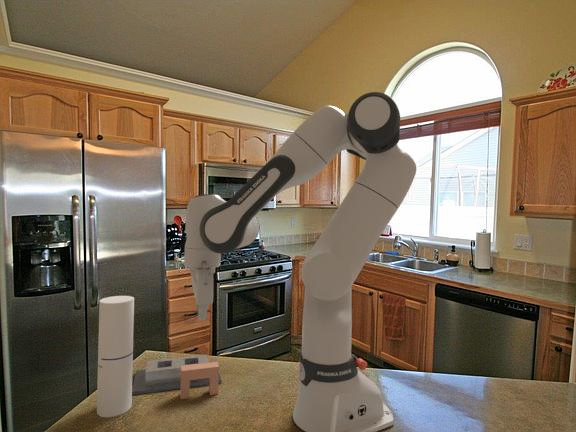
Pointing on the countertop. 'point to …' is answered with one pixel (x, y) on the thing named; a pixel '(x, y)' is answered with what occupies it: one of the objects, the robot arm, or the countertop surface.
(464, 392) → the countertop surface
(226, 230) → the robot arm
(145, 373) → the grey slotted holder
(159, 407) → the countertop surface
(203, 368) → the clip
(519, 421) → the countertop surface
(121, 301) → the cylindrical container
